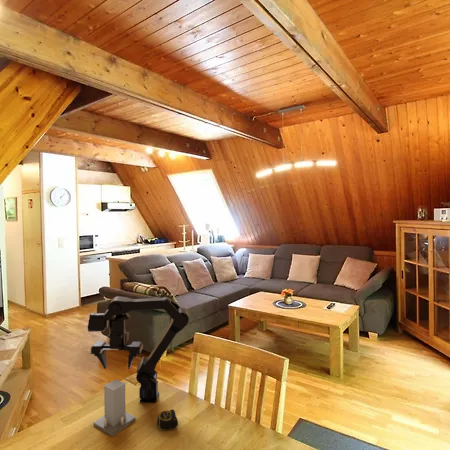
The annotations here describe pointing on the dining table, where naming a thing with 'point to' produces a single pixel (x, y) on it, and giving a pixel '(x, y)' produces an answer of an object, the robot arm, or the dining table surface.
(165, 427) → the tape measure
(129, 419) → the plate
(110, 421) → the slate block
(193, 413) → the dining table surface
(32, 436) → the dining table surface
